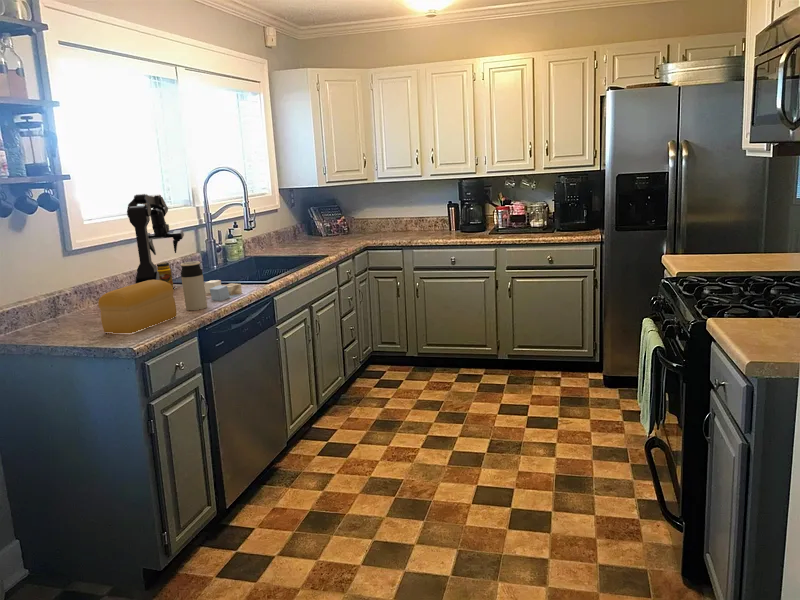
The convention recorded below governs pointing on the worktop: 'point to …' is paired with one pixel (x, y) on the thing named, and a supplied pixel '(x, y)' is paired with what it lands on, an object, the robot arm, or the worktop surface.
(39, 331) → the worktop surface
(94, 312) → the worktop surface
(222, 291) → the blue cube
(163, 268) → the condiment
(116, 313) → the bread
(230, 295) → the tile
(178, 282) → the worktop surface
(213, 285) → the cream cube
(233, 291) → the birch block
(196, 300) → the travel mug
